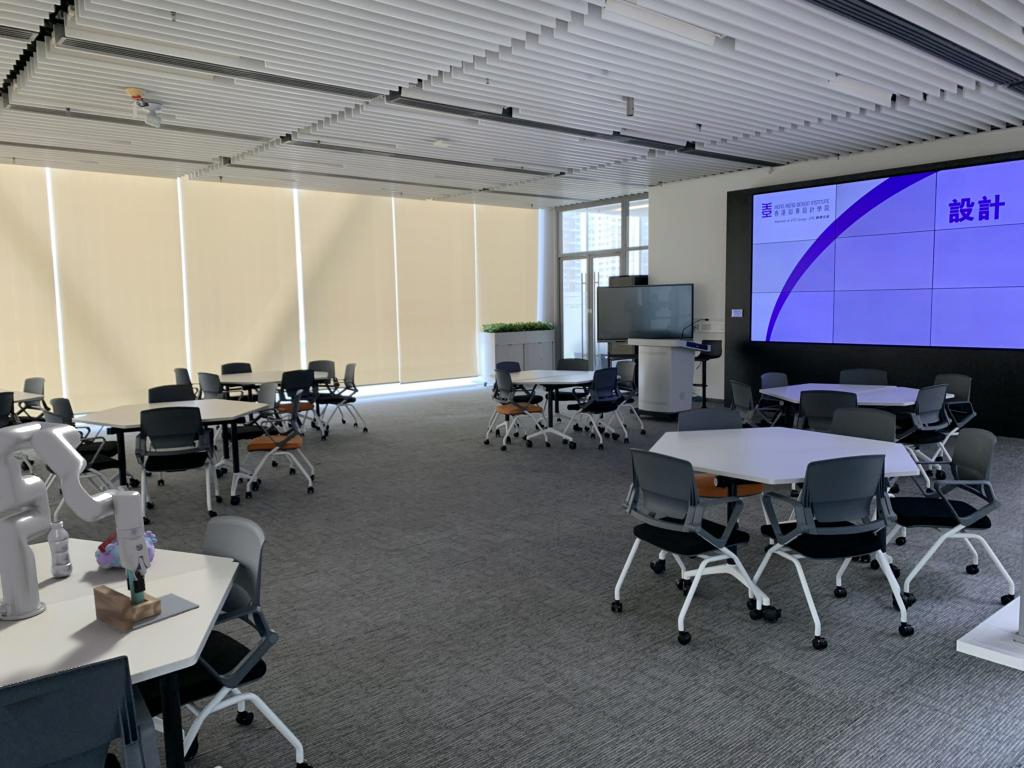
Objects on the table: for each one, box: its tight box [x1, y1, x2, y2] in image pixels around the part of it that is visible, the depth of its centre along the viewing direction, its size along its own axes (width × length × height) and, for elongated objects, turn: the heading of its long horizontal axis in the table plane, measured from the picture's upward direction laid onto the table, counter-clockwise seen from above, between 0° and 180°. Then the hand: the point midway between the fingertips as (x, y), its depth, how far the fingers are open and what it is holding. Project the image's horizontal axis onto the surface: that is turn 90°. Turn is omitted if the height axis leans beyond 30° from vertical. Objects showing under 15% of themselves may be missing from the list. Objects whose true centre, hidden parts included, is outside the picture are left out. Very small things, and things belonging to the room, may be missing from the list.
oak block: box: [130, 592, 162, 622], centre depth 233 cm, size 10×10×4 cm
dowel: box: [128, 567, 145, 606], centre depth 233 cm, size 4×4×14 cm
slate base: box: [95, 593, 200, 635], centre depth 236 cm, size 24×18×1 cm
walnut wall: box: [92, 584, 133, 632], centre depth 228 cm, size 3×18×10 cm, turn 51°
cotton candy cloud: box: [94, 530, 158, 570], centre depth 282 cm, size 20×22×18 cm
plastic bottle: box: [47, 520, 74, 578], centre depth 272 cm, size 6×7×20 cm
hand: (136, 589), depth 233 cm, fingers closed on dowel, 3 cm apart
